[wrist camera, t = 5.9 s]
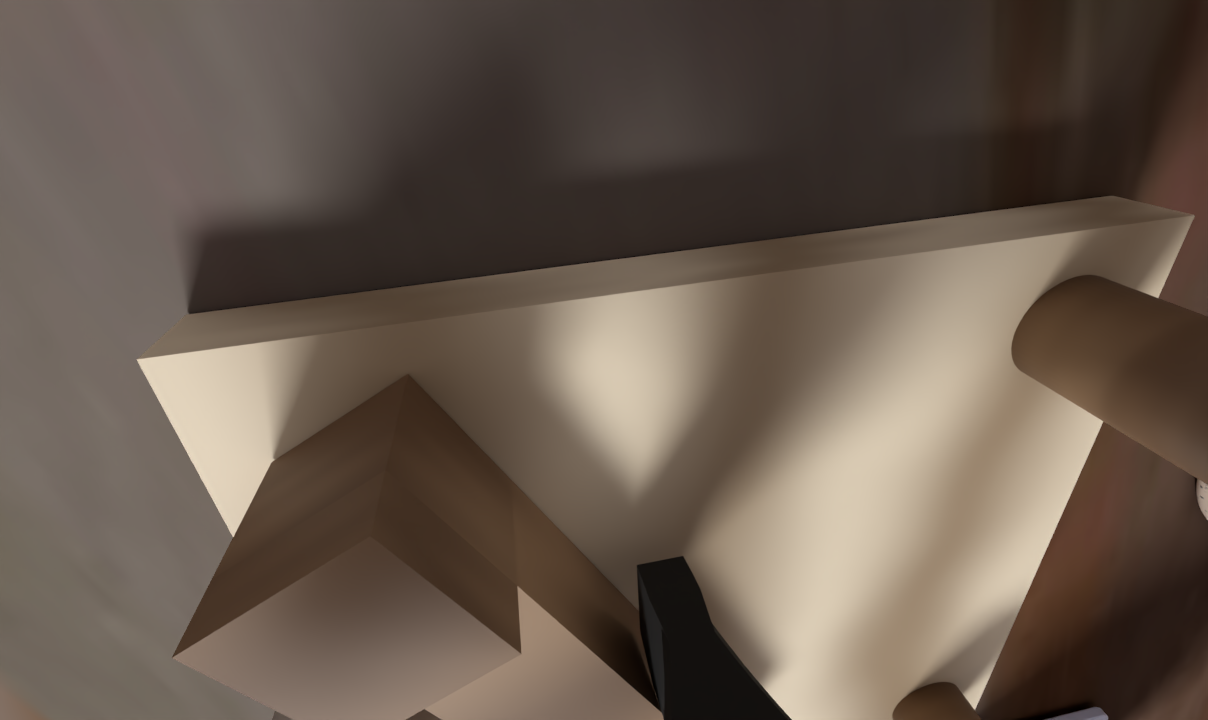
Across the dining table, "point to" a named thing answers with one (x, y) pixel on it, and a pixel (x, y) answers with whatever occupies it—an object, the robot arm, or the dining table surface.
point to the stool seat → (766, 420)
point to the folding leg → (412, 587)
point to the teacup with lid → (1202, 497)
